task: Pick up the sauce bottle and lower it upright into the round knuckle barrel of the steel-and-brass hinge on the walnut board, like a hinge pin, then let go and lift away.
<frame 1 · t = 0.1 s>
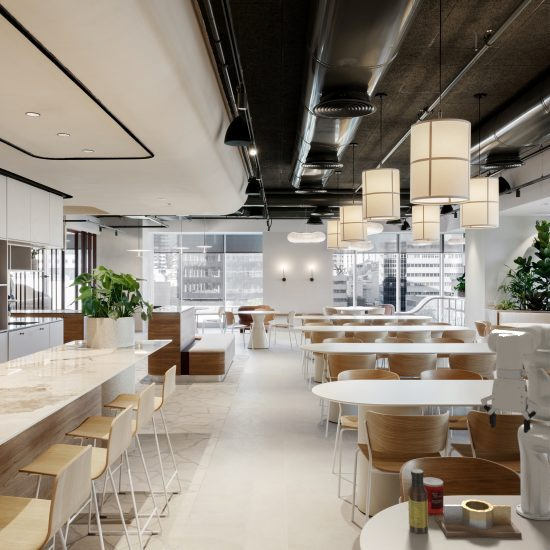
hand: (509, 429, 179), 37 cm above the table, tool pointing down, fingers open, 9 cm apart
canned food: (432, 512, 208), on the table
walnut board: (477, 527, 194), on the table
sauce bottle: (418, 530, 193), on the table
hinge: (477, 523, 194), resting on walnut board
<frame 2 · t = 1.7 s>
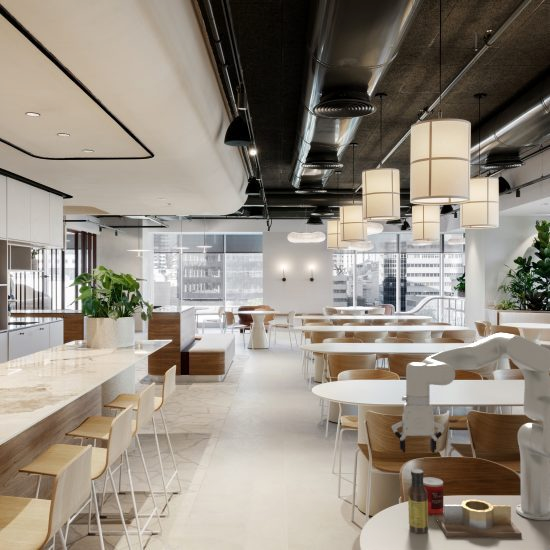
hand: (417, 451, 193), 26 cm above the table, tool pointing down, fingers open, 9 cm apart
nothing on the table moved.
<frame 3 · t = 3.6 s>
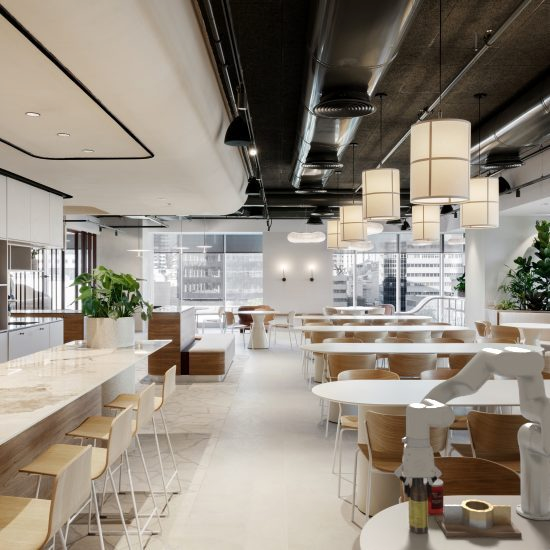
hand: (418, 495, 193), 12 cm above the table, tool pointing down, fingers closed on sauce bottle, 6 cm apart
sauce bottle: (418, 530, 193), on the table, touching gripper
everything else where it was.
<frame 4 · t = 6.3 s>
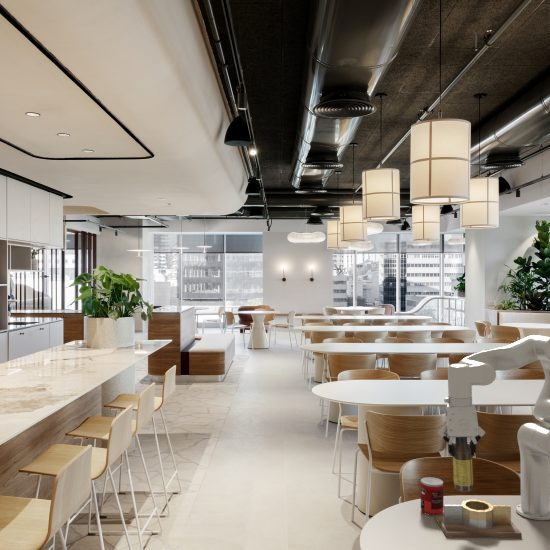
hand: (462, 454, 194), 25 cm above the table, tool pointing down, fingers closed on sauce bottle, 6 cm apart
sauce bottle: (463, 489, 194), point 13 cm above the table, touching gripper
everything else where it was.
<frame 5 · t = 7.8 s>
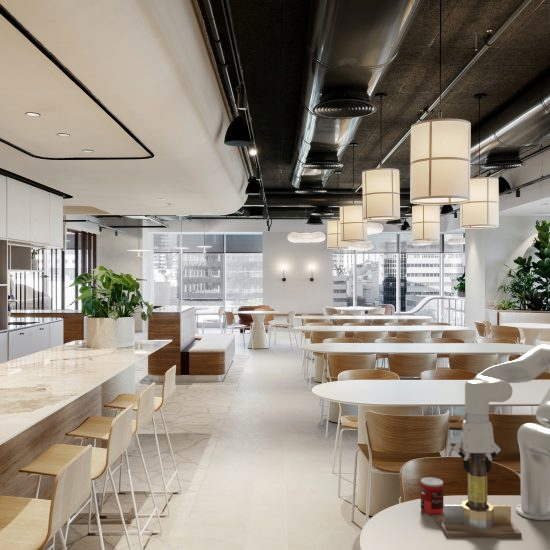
hand: (476, 470, 194), 19 cm above the table, tool pointing down, fingers closed on sauce bottle, 6 cm apart
sauce bottle: (477, 505, 194), point 7 cm above the table, touching gripper
everything else where it was.
when the fingers open (15 cm above the table, at t = 9.1 s): sauce bottle drops 2 cm, resting on walnut board.
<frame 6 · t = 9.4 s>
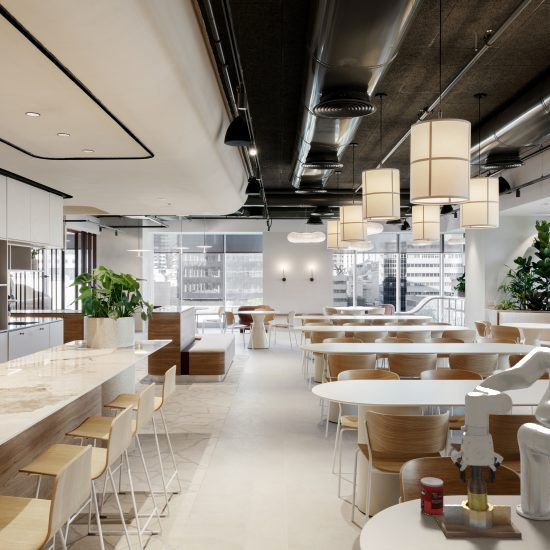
hand: (477, 481, 194), 16 cm above the table, tool pointing down, fingers open, 8 cm apart
sauce bottle: (478, 523, 194), point 1 cm above the table, touching walnut board
everything else where it was.
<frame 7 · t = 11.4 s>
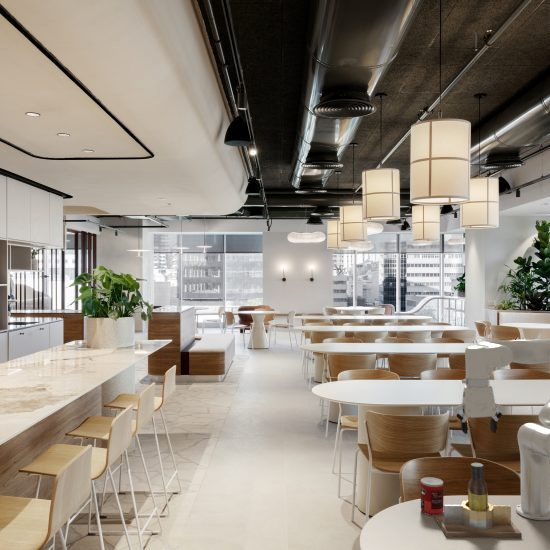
hand: (479, 432, 198), 31 cm above the table, tool pointing down, fingers open, 9 cm apart
nothing on the table moved.
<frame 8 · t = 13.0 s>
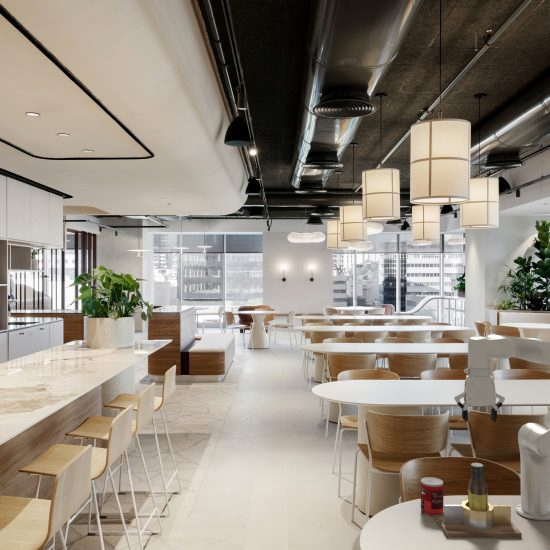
hand: (479, 420, 204), 33 cm above the table, tool pointing down, fingers open, 9 cm apart
nothing on the table moved.
at the end: sauce bottle 0.3 cm off-centre on the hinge, point 0.0 cm above the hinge's base; sauce bottle tilted 0°; the gripper is holding nothing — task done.
